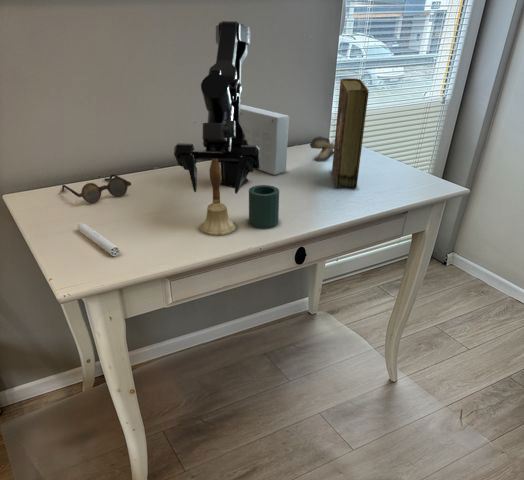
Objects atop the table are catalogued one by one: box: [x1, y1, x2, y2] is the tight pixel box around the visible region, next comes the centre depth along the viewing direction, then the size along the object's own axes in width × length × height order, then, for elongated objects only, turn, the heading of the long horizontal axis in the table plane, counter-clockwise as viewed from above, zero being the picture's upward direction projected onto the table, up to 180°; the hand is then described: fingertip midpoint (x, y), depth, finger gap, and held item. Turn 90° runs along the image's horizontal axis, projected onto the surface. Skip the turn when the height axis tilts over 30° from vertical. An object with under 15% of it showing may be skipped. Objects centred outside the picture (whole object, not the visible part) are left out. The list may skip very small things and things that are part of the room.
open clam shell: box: [309, 136, 335, 162], centre depth 160 cm, size 8×7×9 cm
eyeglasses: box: [61, 173, 132, 204], centre depth 133 cm, size 15×15×5 cm
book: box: [331, 78, 370, 189], centre depth 137 cm, size 16×6×25 cm, turn 179°
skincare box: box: [240, 104, 290, 176], centre depth 149 cm, size 21×6×16 cm, turn 43°
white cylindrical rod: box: [77, 222, 120, 257], centre depth 110 cm, size 18×2×2 cm, turn 41°
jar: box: [248, 184, 280, 230], centre depth 117 cm, size 7×7×8 cm
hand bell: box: [200, 158, 237, 236], centre depth 112 cm, size 8×8×16 cm
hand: (215, 192), depth 110 cm, fingers open, 9 cm apart
